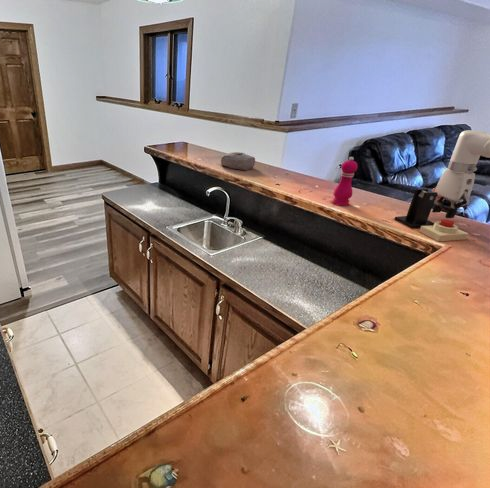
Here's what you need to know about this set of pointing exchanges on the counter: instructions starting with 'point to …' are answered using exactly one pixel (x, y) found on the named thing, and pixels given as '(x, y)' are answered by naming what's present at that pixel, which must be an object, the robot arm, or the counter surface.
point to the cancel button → (446, 223)
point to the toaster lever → (434, 202)
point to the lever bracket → (419, 210)
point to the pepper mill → (345, 183)
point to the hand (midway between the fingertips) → (442, 214)
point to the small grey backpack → (238, 161)
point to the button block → (443, 232)
